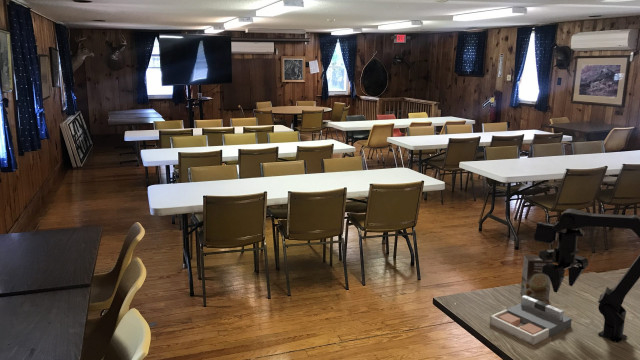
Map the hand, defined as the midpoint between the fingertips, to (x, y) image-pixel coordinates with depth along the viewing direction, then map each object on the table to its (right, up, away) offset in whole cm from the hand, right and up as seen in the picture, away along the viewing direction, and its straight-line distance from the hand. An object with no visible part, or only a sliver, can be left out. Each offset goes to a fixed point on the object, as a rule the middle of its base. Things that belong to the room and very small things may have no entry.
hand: (563, 288), depth 173 cm
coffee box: (0, -8, +24) cm, 25 cm away
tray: (-16, -14, -2) cm, 22 cm away
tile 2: (-13, -14, -5) cm, 20 cm away
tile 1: (-18, -12, +2) cm, 22 cm away
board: (-7, -12, +4) cm, 15 cm away
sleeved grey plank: (-6, -9, +4) cm, 12 cm away
